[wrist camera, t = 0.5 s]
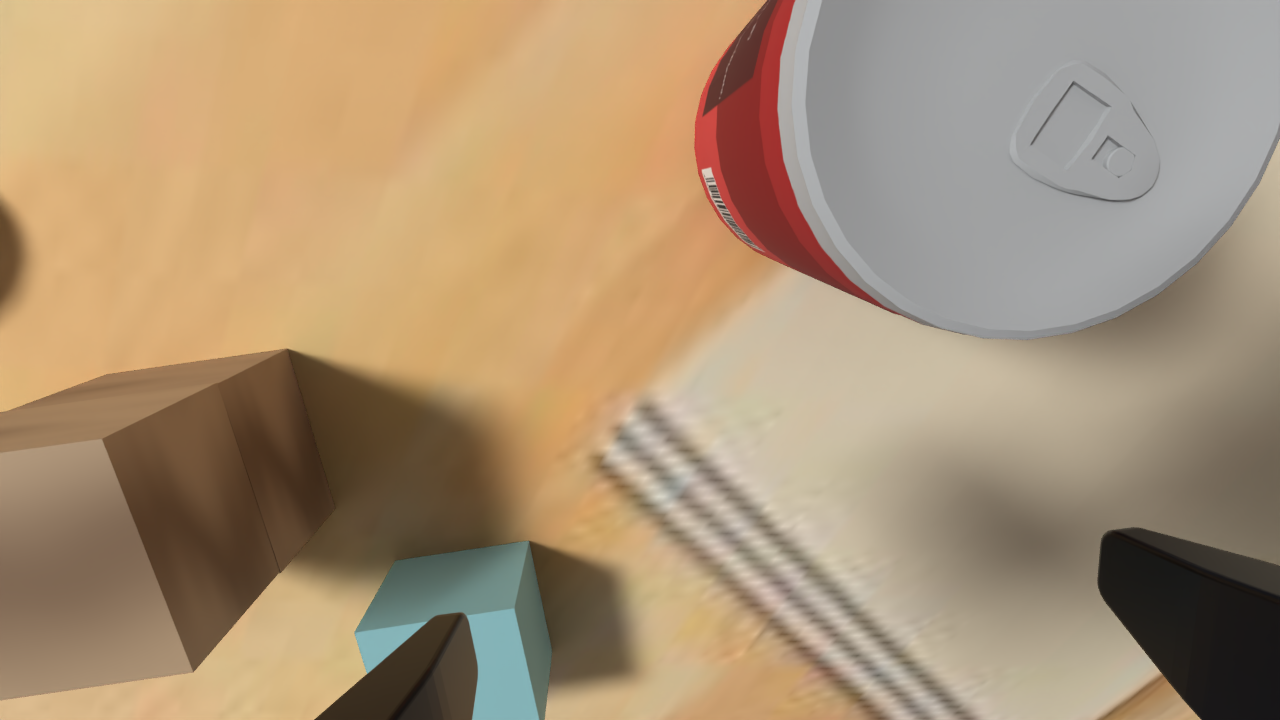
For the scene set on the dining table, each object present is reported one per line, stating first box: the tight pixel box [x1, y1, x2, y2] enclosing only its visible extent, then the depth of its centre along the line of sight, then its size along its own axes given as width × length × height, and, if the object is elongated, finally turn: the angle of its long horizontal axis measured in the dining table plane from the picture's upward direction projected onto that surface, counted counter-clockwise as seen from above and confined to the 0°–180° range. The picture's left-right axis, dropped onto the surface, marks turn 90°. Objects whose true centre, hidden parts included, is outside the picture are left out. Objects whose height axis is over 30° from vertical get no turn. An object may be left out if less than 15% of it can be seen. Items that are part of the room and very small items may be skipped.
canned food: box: [694, 0, 1280, 340], centre depth 14 cm, size 8×8×11 cm
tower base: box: [9, 349, 335, 573], centre depth 20 cm, size 6×6×4 cm
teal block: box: [354, 541, 552, 720], centre depth 22 cm, size 5×5×4 cm
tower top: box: [0, 382, 279, 700], centre depth 16 cm, size 6×6×4 cm
